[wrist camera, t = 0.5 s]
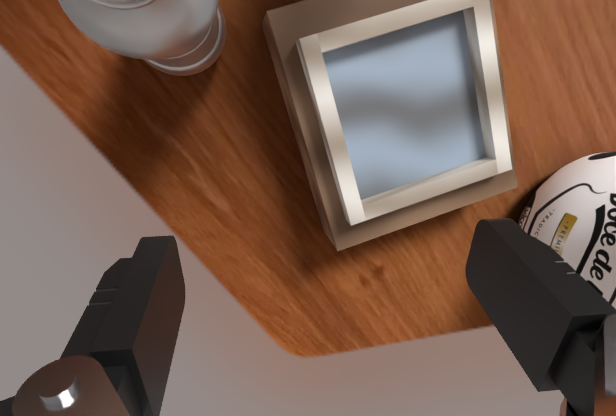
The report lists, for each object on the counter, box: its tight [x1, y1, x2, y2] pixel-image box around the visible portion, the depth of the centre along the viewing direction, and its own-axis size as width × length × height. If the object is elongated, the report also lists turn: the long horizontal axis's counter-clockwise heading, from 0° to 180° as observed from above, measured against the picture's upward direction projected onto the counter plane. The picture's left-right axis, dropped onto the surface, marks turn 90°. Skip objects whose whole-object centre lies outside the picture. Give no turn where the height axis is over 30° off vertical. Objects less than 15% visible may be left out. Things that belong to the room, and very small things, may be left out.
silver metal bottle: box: [58, 0, 226, 76], centre depth 21 cm, size 6×7×20 cm
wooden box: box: [261, 0, 518, 251], centre depth 32 cm, size 18×16×6 cm
